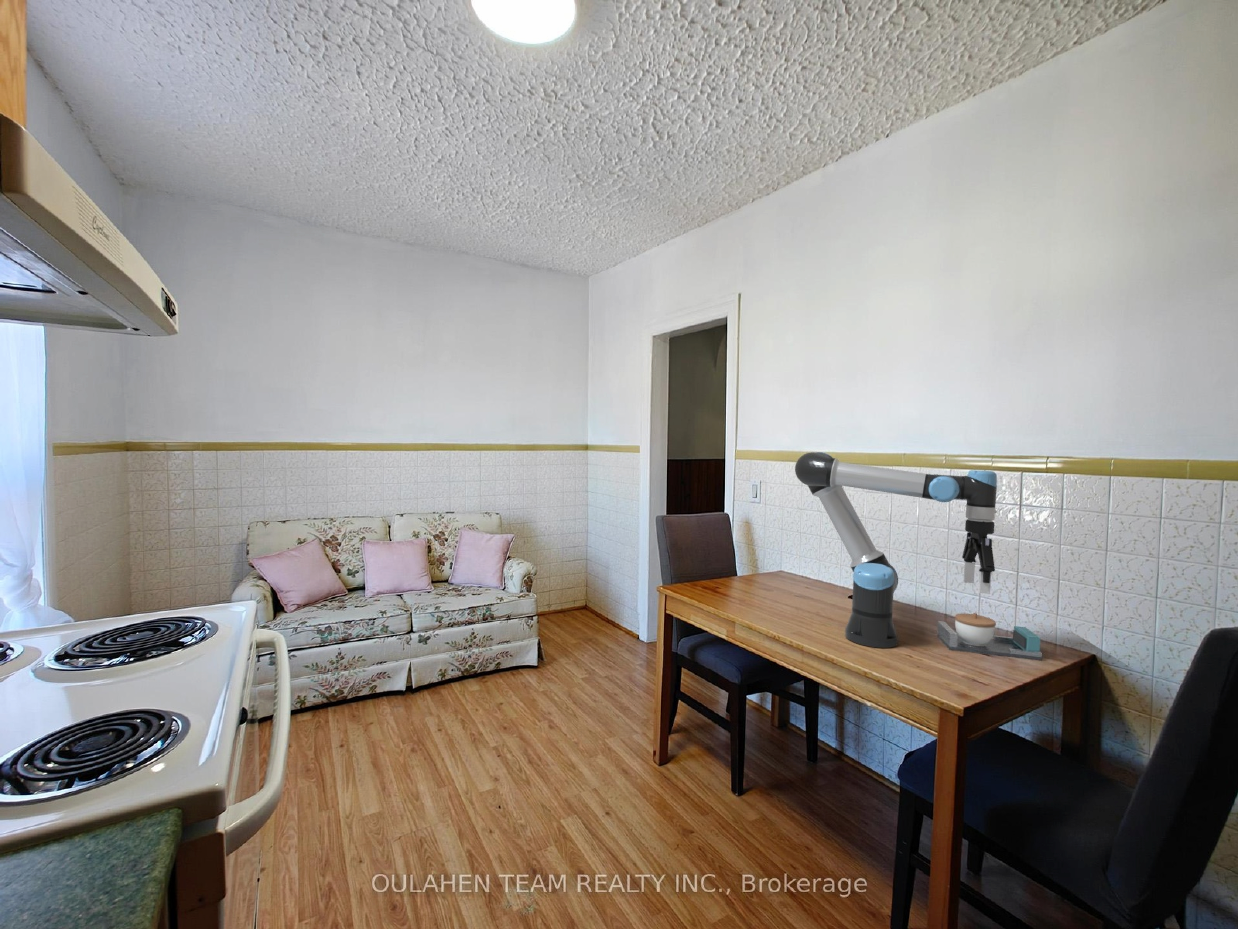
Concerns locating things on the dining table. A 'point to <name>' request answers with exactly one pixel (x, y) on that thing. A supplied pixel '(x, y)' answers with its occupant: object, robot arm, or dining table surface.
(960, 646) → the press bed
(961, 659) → the dining table surface
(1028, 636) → the block
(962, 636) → the lidded jar
